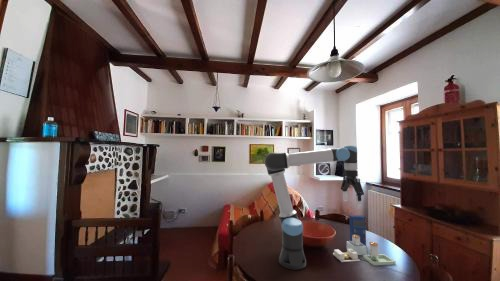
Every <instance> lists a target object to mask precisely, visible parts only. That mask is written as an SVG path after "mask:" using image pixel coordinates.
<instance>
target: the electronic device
mask: <svg viewBox="0 0 500 281" xmlns="http://www.w3.org/2000/svg"><path fill="white" fill-rule="evenodd" d="M348 216H349V219H348V220H349V241H352V235H353V234H356V235H359V236H360V242H361V243H362V244H364V245H365V246H367V231H366V230H367V229H366V227H367V226H366V216H365V215H362V214H361V215H357V214H355V215H353V214H350V215H348Z"/></svg>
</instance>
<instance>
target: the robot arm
mask: <svg viewBox="0 0 500 281" xmlns="http://www.w3.org/2000/svg"><path fill="white" fill-rule="evenodd" d="M340 161H341V162H343V163H344V164H343V167H344V176H342V182H341V186H340V190H342V201H343V202H349V199H348V198H349V195H348V194H349V193H348V189H349V187H350V186H351V187H353V189H354V192H355V194H356V195H355V206H356V207H357V208H359V207H362V196H364V195H365V193H364V189H363V187H362V183H361V179H360V178H357V177H358V176H359V174H358V148H357V146H356V145H344V146H343V147H336V148H331V147H330V148H326V149H319V150H310V151H301V152H292V153H287V152H269V153H268V154H267V155H266V156H265V158H264V165H265V167H266V172H267V175H268V176H270V177H271V181H272V185H273V189H274V192H275V193H274V194H275V197H276V201H277V204H278V209H279V214H278V219H279V221H280V225H281V233H282V237H281V238H282V239H281V240H282V242H281V244H282V246H281V251H280V254H279V257H278V262H279V264H280V266H282V267H284V268H285V269H288V270H295V271H296V270H299V271H300V270H302V269H304V268H305V267H306V266H307V259H306V255H305V253H304V247H303V246H304V242H303V241H304V235H303V233H304V225H303V222H302V221H301V220H300V219H299V217H298V213H297V211H296V210H295V209H294V208H293V203H292V200H291V199H292V198H291V195H290V193H289V189H288V185H287V180H286V177H285V172H286V169H289V168H290V167H296V166H304V165H312V164H314V165H315V164H323V163H331V162H340Z"/></svg>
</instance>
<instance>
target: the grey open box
mask: <svg viewBox="0 0 500 281" xmlns="http://www.w3.org/2000/svg"><path fill="white" fill-rule="evenodd" d="M347 249H353V250H354V251H355V252H357V253H358V256H363V255H368V252H367V251H368V250H367V245H366V246H365V245H364V244H362V243H361V242H360V246H353V245H352V241H350V240H349V241H348V240H346V250H347Z"/></svg>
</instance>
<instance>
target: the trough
mask: <svg viewBox="0 0 500 281" xmlns="http://www.w3.org/2000/svg"><path fill="white" fill-rule="evenodd" d="M362 257H363V259H364V260H365V261H367V262H368V263H369V264H371V265H372V266H391V265H396V262H397V261H395V259H392V258H391V257H389V256H387V255H386V254H384V253H382V254H381V253H380V254H379V261H378V262H374V261H372V260H371V259H370V254H367V255H362Z"/></svg>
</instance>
